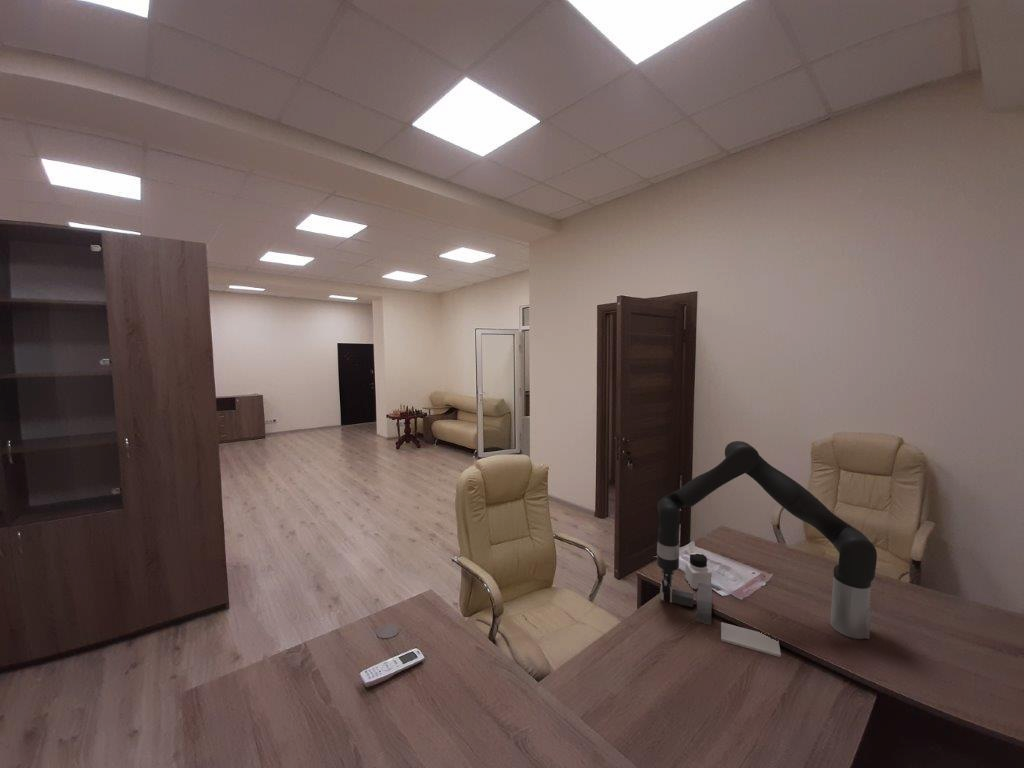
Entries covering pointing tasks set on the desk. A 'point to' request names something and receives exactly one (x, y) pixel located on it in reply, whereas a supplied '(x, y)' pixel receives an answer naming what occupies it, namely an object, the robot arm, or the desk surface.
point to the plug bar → (679, 597)
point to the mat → (749, 639)
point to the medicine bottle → (697, 570)
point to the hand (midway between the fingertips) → (667, 596)
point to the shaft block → (704, 603)
